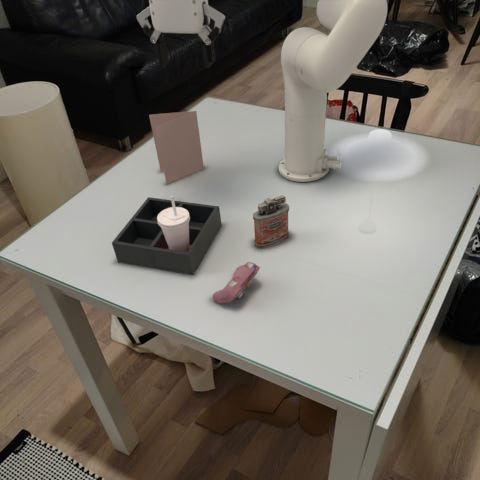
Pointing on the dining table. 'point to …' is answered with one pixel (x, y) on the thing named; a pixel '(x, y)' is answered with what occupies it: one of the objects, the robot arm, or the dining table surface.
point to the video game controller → (237, 283)
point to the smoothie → (175, 227)
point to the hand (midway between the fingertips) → (186, 64)
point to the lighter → (271, 222)
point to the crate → (153, 240)
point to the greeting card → (177, 144)
